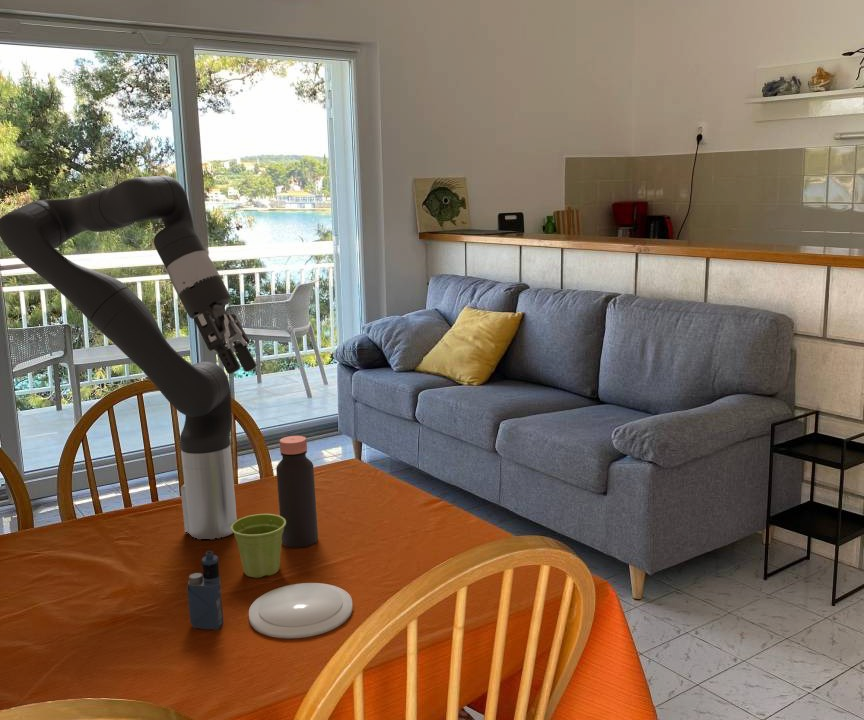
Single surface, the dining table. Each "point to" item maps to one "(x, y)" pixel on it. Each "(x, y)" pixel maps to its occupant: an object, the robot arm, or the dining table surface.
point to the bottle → (297, 493)
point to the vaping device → (206, 595)
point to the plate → (300, 610)
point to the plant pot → (259, 543)
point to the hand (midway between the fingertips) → (243, 370)
